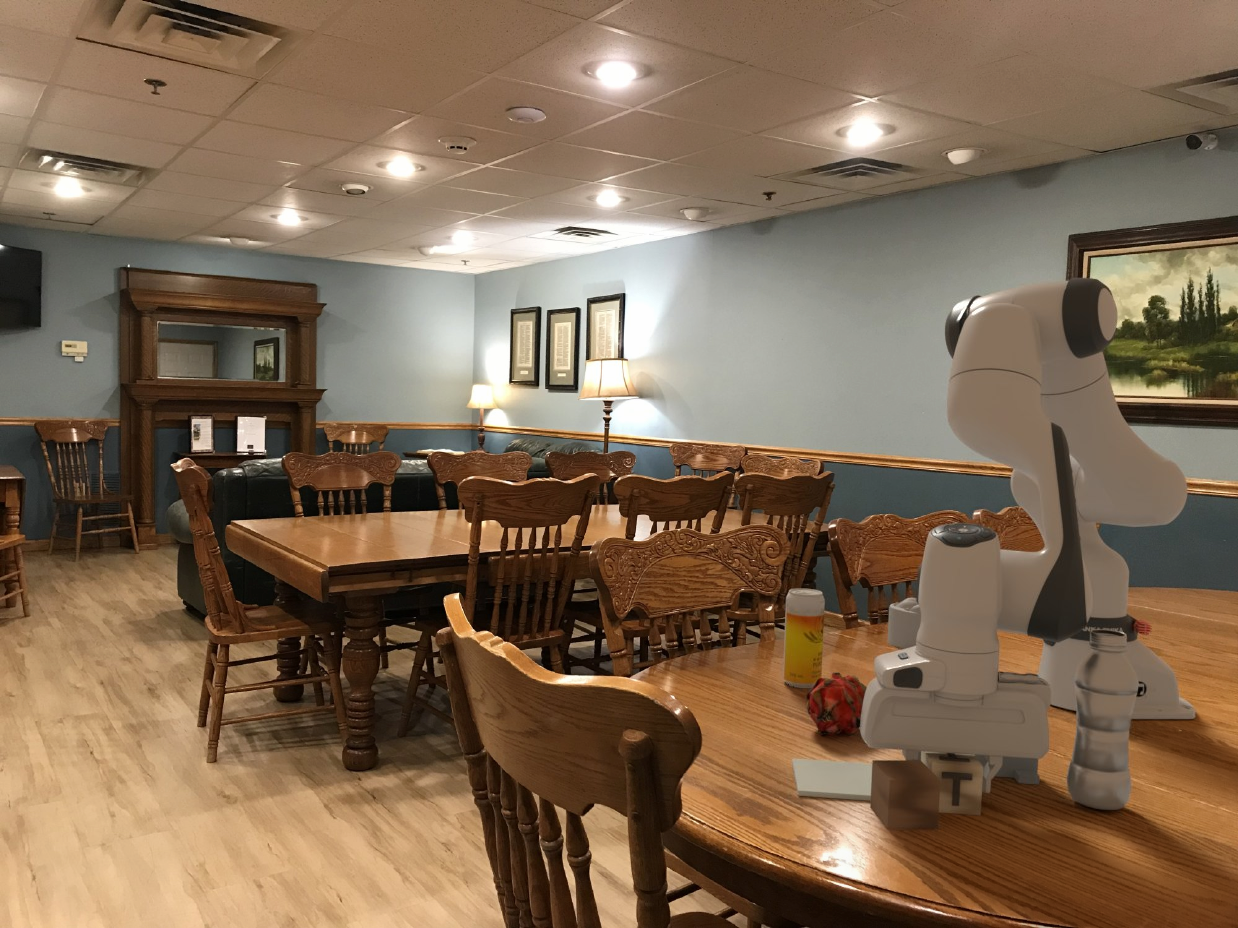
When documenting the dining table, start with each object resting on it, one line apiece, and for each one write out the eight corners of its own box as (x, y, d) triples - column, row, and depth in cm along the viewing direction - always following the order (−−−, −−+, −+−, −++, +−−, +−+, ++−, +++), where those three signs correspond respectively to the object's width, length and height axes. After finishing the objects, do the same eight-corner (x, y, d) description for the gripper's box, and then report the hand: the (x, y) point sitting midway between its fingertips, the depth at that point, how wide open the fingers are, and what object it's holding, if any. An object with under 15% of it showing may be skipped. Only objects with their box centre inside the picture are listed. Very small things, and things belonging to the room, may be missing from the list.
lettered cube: (967, 794, 110) (970, 746, 110) (981, 815, 105) (983, 765, 104) (919, 791, 111) (921, 743, 110) (929, 812, 105) (932, 761, 105)
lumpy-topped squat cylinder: (953, 657, 172) (955, 610, 172) (881, 646, 179) (883, 601, 178) (963, 645, 181) (965, 600, 181) (894, 635, 188) (896, 592, 187)
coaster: (873, 768, 118) (874, 763, 117) (887, 801, 108) (887, 796, 108) (792, 762, 119) (792, 758, 119) (798, 795, 109) (798, 790, 109)
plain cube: (918, 808, 106) (920, 760, 106) (937, 830, 101) (940, 779, 101) (870, 808, 106) (872, 760, 106) (887, 830, 101) (889, 779, 100)
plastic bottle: (1053, 793, 111) (1063, 625, 110) (1108, 793, 112) (1119, 626, 111) (1085, 817, 105) (1096, 639, 104) (1143, 817, 106) (1155, 640, 104)
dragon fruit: (856, 729, 136) (828, 767, 126) (810, 688, 139) (779, 721, 129) (891, 691, 132) (865, 727, 122) (843, 649, 135) (813, 681, 125)
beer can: (821, 690, 149) (825, 596, 148) (782, 687, 151) (785, 593, 150) (820, 679, 155) (824, 589, 154) (783, 676, 156) (786, 586, 156)
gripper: (1042, 666, 109) (1035, 784, 110) (860, 656, 111) (855, 771, 112) (1062, 682, 103) (1054, 807, 103) (869, 671, 105) (863, 793, 106)
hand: (949, 788), depth 108 cm, fingers closed on lettered cube, 5 cm apart
